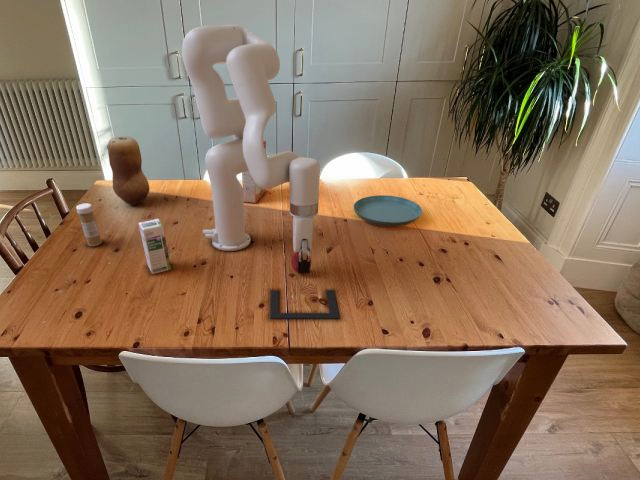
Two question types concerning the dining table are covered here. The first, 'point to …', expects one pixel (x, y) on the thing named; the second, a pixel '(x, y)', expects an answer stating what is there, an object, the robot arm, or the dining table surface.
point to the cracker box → (251, 186)
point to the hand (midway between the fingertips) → (303, 264)
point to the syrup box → (155, 245)
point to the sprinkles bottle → (89, 224)
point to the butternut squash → (127, 170)
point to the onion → (295, 261)
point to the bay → (331, 315)
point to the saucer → (387, 210)
